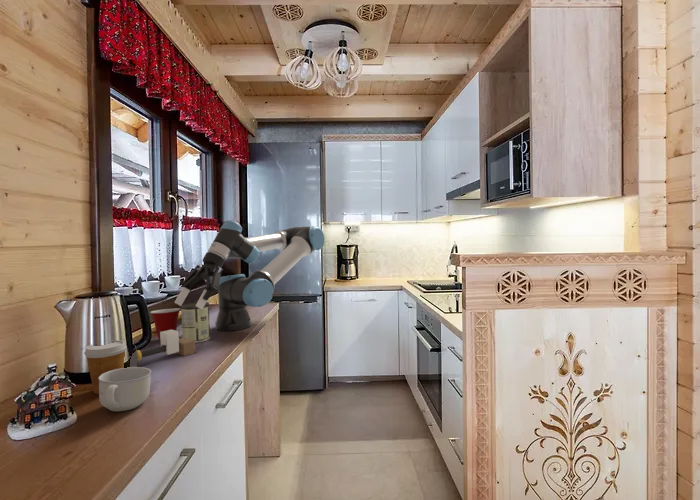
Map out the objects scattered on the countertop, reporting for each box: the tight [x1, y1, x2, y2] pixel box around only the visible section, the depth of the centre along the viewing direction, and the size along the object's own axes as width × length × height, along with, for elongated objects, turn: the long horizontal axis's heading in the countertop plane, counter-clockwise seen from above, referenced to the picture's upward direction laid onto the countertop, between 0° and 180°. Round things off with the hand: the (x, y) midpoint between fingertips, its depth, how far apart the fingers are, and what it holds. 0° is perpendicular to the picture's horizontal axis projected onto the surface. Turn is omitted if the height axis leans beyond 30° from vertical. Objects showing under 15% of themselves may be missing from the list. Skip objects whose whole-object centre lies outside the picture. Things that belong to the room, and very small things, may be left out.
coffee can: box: [180, 301, 211, 344], centre depth 148 cm, size 10×10×14 cm
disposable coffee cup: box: [83, 339, 127, 395], centre depth 101 cm, size 10×10×12 cm
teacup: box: [98, 366, 152, 412], centre depth 89 cm, size 14×11×8 cm
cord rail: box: [130, 337, 196, 367], centre depth 125 cm, size 22×7×7 cm, turn 144°
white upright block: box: [159, 329, 180, 356], centre depth 128 cm, size 4×4×7 cm
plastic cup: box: [150, 307, 181, 342], centre depth 150 cm, size 11×11×12 cm
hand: (187, 306), depth 137 cm, fingers open, 13 cm apart
